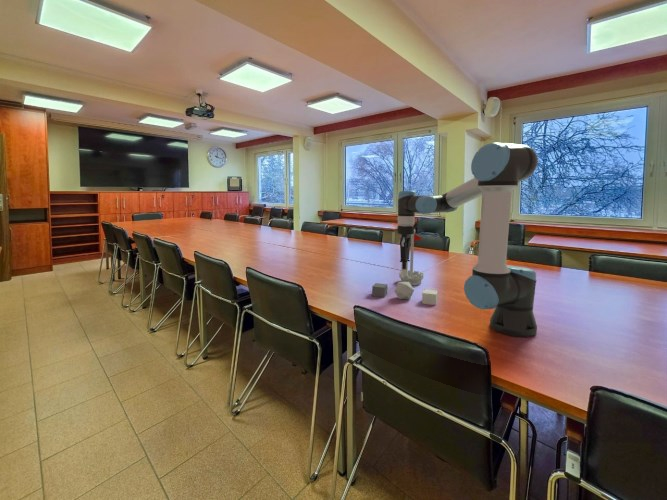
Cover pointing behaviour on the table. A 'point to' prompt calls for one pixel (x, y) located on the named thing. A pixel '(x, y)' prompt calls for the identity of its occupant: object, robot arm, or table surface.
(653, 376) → the table surface
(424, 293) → the off-white block
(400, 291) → the die
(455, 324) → the table surface
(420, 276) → the flag stand
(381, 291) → the charcoal block
